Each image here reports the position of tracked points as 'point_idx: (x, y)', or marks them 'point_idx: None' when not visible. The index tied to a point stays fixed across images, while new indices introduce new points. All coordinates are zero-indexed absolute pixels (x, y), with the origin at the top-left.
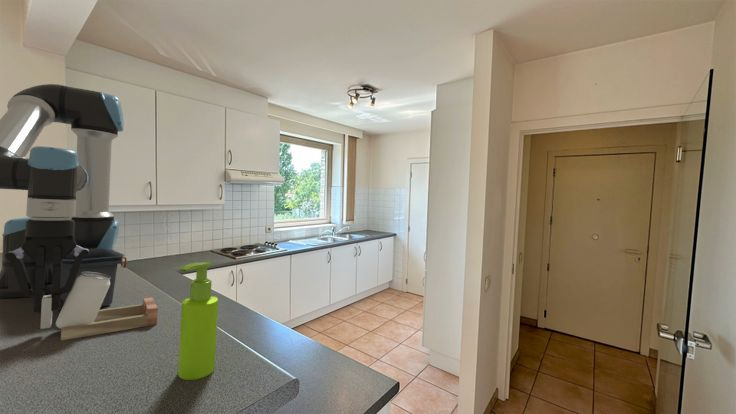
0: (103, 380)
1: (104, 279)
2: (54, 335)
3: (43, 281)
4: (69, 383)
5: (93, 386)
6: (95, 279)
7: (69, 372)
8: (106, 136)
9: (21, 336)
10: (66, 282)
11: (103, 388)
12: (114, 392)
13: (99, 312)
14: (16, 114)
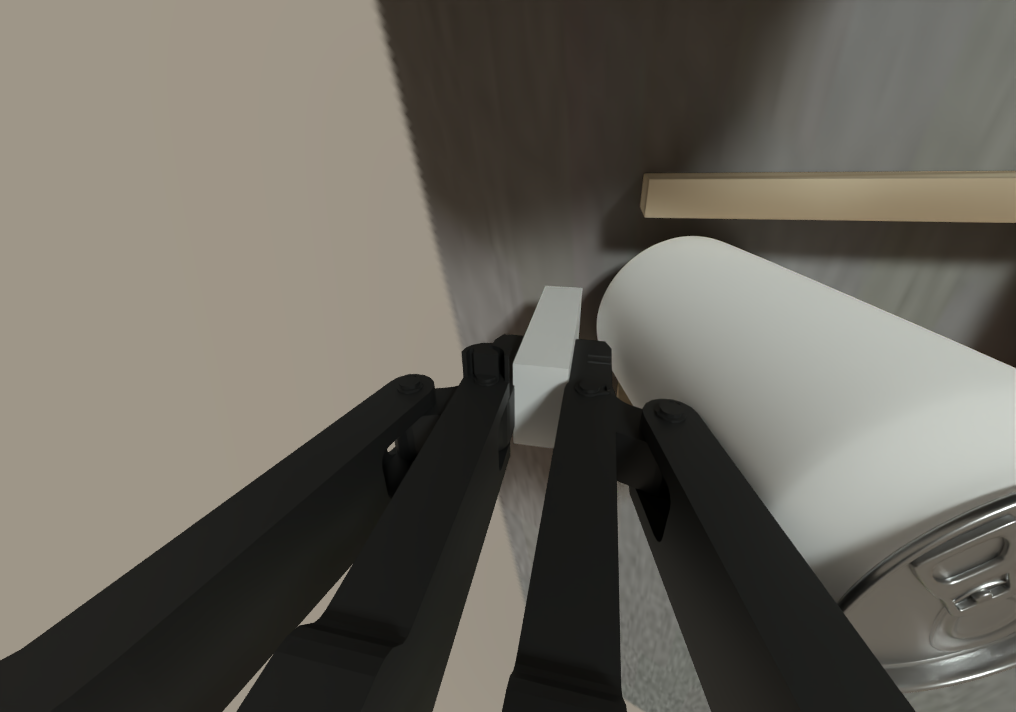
0: (679, 668)
1: (1000, 652)
2: (596, 320)
3: (481, 529)
4: (622, 640)
5: (659, 672)
6: (899, 668)
7: (625, 605)
8: None
9: (482, 254)
10: (654, 550)
11: (673, 687)
12: (686, 705)
13: (843, 217)
14: None
